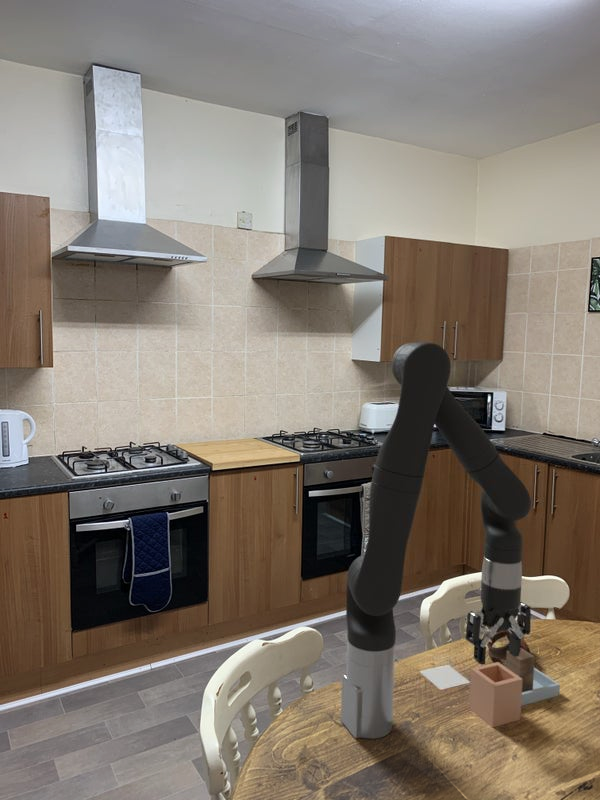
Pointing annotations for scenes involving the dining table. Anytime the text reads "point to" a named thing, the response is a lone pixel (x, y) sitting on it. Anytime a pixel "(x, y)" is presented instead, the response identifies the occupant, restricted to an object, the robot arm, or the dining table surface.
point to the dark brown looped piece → (502, 651)
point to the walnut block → (522, 668)
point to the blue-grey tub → (540, 689)
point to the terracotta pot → (495, 694)
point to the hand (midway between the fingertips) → (497, 658)
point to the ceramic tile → (444, 677)
